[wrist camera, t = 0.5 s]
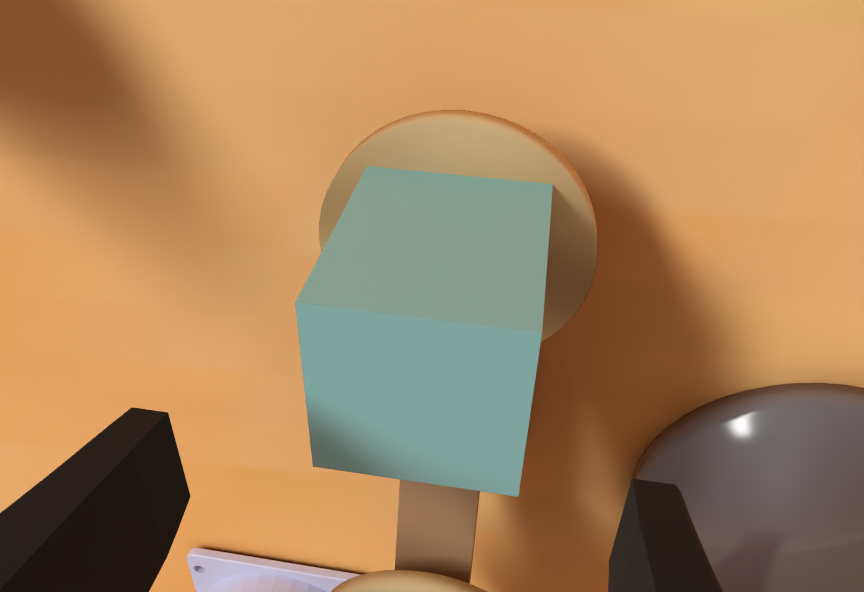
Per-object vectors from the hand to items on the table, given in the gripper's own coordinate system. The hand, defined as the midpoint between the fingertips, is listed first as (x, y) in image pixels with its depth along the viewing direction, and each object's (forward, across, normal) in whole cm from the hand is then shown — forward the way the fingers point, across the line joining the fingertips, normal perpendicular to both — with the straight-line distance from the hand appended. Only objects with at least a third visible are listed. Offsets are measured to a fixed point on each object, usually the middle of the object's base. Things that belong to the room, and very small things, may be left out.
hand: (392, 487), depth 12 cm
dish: (+10, -11, +10) cm, 18 cm away
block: (+7, 0, 0) cm, 7 cm away
